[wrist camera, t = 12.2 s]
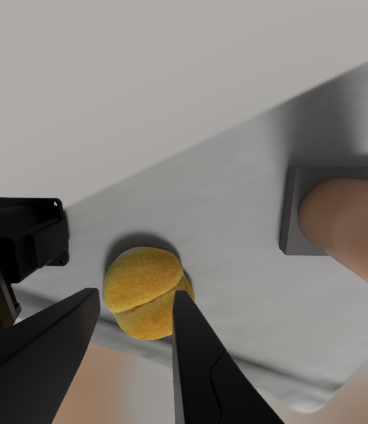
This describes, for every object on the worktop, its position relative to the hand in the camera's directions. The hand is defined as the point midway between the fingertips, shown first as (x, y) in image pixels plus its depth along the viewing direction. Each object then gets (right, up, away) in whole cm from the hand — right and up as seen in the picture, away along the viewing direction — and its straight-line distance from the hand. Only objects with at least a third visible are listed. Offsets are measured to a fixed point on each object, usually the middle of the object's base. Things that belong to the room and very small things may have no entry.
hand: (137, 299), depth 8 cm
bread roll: (-2, -4, +15) cm, 16 cm away
